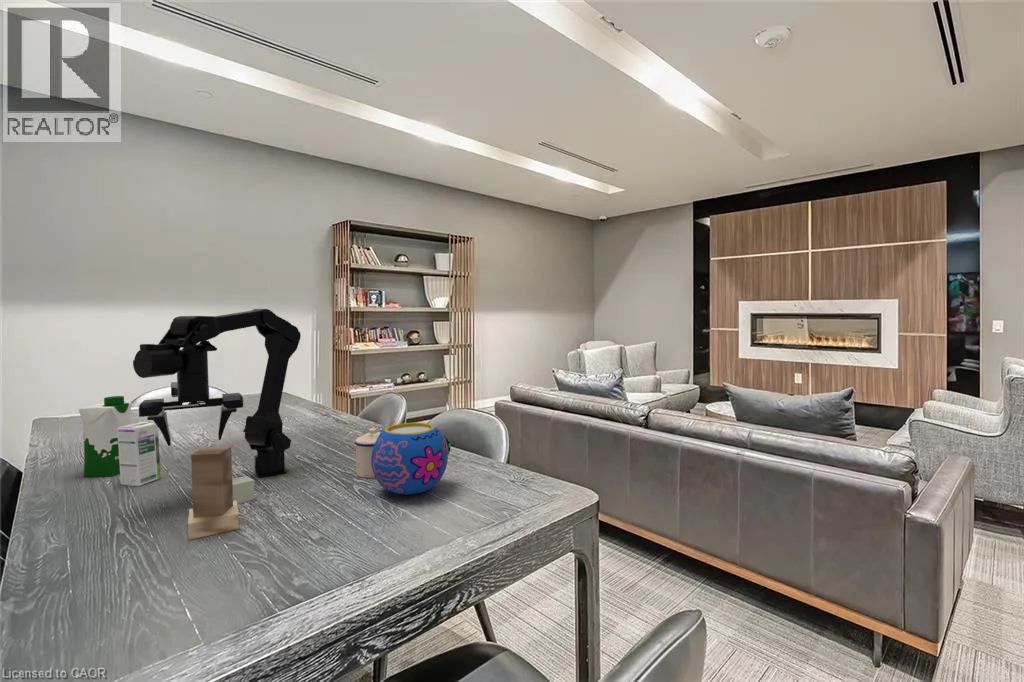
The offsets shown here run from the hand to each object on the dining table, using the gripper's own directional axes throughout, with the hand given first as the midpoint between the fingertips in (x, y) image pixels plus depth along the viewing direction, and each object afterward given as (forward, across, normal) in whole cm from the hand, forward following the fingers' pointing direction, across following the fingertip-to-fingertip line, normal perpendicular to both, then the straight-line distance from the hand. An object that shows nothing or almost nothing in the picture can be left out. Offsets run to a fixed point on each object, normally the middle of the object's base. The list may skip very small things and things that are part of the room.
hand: (195, 442), depth 104 cm
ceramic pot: (+13, -42, +21) cm, 49 cm away
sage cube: (+13, -8, +5) cm, 16 cm away
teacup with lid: (+13, -38, +2) cm, 40 cm away
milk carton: (+13, +20, -36) cm, 43 cm away
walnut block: (+10, -3, +18) cm, 21 cm away
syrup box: (+13, +12, -22) cm, 28 cm away
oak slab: (+13, -3, +18) cm, 22 cm away
